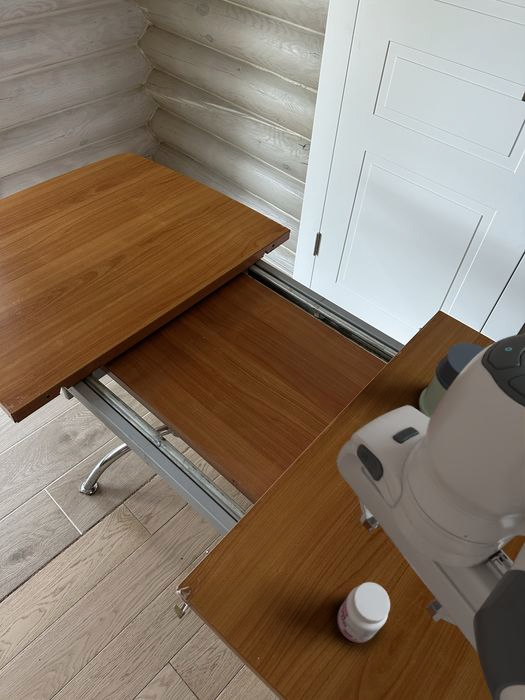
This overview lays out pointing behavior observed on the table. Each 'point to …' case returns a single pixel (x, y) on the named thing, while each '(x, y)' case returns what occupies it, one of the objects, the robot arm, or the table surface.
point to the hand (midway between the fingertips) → (401, 564)
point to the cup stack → (446, 375)
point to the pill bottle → (363, 612)
